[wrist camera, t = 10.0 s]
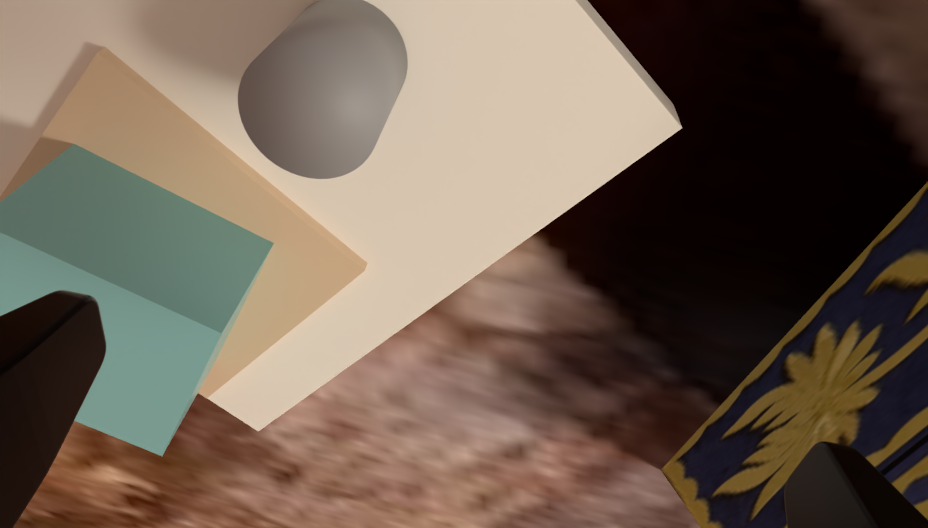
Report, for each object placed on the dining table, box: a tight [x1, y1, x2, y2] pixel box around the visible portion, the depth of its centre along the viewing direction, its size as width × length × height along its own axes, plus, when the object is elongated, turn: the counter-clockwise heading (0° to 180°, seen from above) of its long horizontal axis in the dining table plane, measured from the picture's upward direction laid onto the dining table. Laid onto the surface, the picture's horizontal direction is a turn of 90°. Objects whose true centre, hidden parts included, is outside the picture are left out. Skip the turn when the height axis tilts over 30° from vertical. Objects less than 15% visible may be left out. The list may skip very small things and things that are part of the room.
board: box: [0, 0, 682, 431], centre depth 18 cm, size 19×14×5 cm
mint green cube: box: [0, 144, 274, 456], centre depth 19 cm, size 6×6×4 cm
